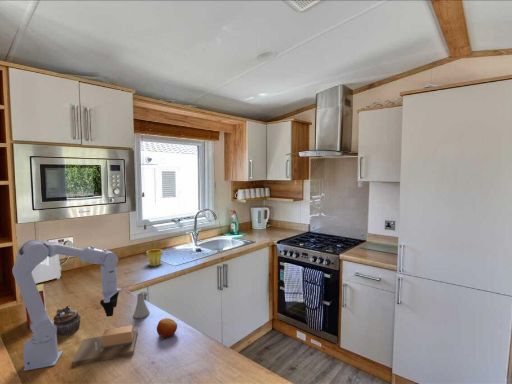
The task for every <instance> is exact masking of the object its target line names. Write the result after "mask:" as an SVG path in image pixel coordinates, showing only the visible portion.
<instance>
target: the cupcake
mask: <svg viewBox="0 0 512 384" xmlns="http://www.w3.org/2000/svg"><path fill="white" fill-rule="evenodd" d="M81 318H82V317H81V314H80V313H79V311H78V310H76V309H73V308H72V307H71V305H67V306H65V308H62V309H57V310H56V315H55V316H54V317H53V324H54V325H55V326H56V327H57V332H56V334H57V335H58V336H62V337H63V336H68V335H72V334H75V333H76V332H77V331H79V329H80V325H81Z"/></svg>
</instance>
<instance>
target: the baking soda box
mask: <svg viewBox="0 0 512 384" xmlns="http://www.w3.org/2000/svg"><path fill="white" fill-rule="evenodd" d="M36 286H37V289H38V292H39V294H40V297H41V300H42V302H43V305H44V308H45V310H46V313H47V314H48V312H47V304H46V293H45V284H44V283H39V284H36ZM25 313H26V322H27V323H26V325H27V330H29V329H30V324H31V319H30V316H29V313H28V311H27V308H26V307H25ZM30 330H31V329H30Z"/></svg>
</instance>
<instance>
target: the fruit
mask: <svg viewBox="0 0 512 384" xmlns="http://www.w3.org/2000/svg"><path fill="white" fill-rule="evenodd" d="M177 329H178V323H176V321H175V320H174V319H172V318H167V317H166V318H162V319H160V320H159V321H158V323H157V325H156V331H157V334H158V336H159V337H160V338H161V342H163V340H164V339H168V338H169V339H170V338H171V337H173V336H174V335H175V333H176V331H177Z"/></svg>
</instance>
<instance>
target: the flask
mask: <svg viewBox="0 0 512 384" xmlns="http://www.w3.org/2000/svg"><path fill="white" fill-rule="evenodd" d="M136 297H137V299H136V300H137V302H136V306H135V309H134V313H133V318H134V319H143V318H146V317H149V315H150V310H149V308H148V306H147V304H146V302H145V299H144V298H145V293H144V292H140V293H137V294H136Z"/></svg>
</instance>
